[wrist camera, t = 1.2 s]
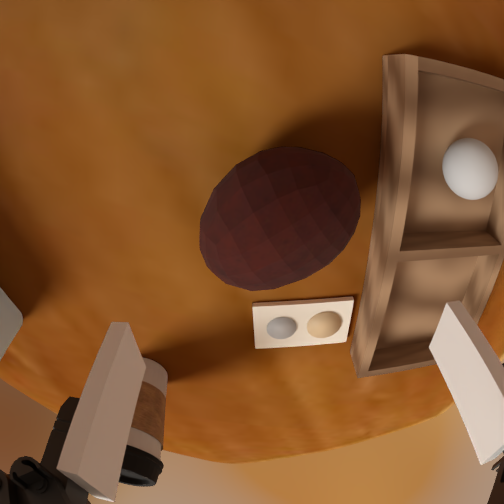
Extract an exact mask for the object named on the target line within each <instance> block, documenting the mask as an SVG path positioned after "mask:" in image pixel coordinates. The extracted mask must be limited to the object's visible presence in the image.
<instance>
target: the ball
mask: <svg viewBox="0 0 504 504" xmlns="http://www.w3.org/2000/svg"><path fill="white" fill-rule="evenodd" d="M442 170H443V175H444V178H445V181H446V183H447V184H448V186H449V187H450V189H451V190H452V191H453V192H454V193H455V194H457V195H458V196H460V197H462V198H465V199H469V200H477V199H481V198H483V197H485V196H487V195H488V194H489V193H490V192H491V191H492V190H493V189H494V187H495V185H496V183H497V179H498V164H497V161H496V158H495V156H494V154H493V152H492V151H491V150H490V148H489V147H488V146H487V145H486V144H484V143H483V142H481V141H479V140H477V139H473V138H462V139H459V140H457V141H455V142H453V143H452V144H451V145H450V146H449V147H448V149H447V150H446V152H445V154H444V157H443V163H442Z"/></svg>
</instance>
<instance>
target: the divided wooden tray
mask: <svg viewBox="0 0 504 504" xmlns="http://www.w3.org/2000/svg"><path fill="white" fill-rule="evenodd" d="M462 138H473V139H477V140H479V141H481V142H483V143H484V144H486V145H487V146H488V147H489V148H490V150H491V151H492V152H493V154H494V156H495V158H496V161H497V164H498V179H497V183H496V185H495V187H494V189H493V190H492V191H491V192H490V193H489V194H488V195H487V196H485V197H483V198H481V199H477V200H469V199H465V198H462V197H460V196H458V195H457V194H455V193H454V192H453V191H452V190H451V189H450V187H449V186H448V184H447V183H446V181H445V178H444V175H443V170H442V163H443V157H444V154H445V152H446V150H447V149H448V147H449V146H450V145H451V144H452V143H453V142H455V141H457V140H459V139H462ZM503 259H504V79H501V78H498V77H495V76H492V75H489V74H486V73H483V72H479V71H476V70H473V69H469V68H466V67H462V66H458V65H454V64H450V63H446V62H442V61H438V60H433V59H429V58H424V57H419V56H414V55H409V54H396V55H383V101H382V130H381V147H380V162H379V174H378V185H377V195H376V204H375V213H374V221H373V229H372V236H371V243H370V250H369V257H368V263H367V269H366V275H365V281H364V286H363V292H362V297H361V302H360V308H359V313H358V317H357V322H356V327H355V332H354V336H353V341H352V345H351V349H350V354H351V357H352V360H353V364H354V367H355V371H356V374H357V378H361V377H368V376H375V375H381V374H387V373H393V372H399V371H404V370H410V369H415V368H420V367H425V366H429V365H434V364H437V363H436V361H435V359H434V357H433V355H432V353H431V351H430V349H429V346H430V343H431V341H432V339H433V336H434V334H435V331H436V329H437V326H438V324H439V321H440V319H441V316H442V313H443V311H444V308H445V305H446V303H447V302H454V301H461V303H462V304H463V306H464V307H465V308H466V310H467V311H468V313H469V314H470V316H471V317H472V319H473V320H474V321H475V323H476V324H478V321H479V319H480V317H481V315H482V313H483V310H484V308H485V306H486V303H487V301H488V299H489V296H490V294H491V291H492V289H493V286H494V284H495V281H496V278H497V276H498V273H499V270H500V268H501V265H502V262H503Z"/></svg>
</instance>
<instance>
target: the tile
mask: <svg viewBox="0 0 504 504" xmlns="http://www.w3.org/2000/svg"><path fill="white" fill-rule="evenodd" d="M353 303H354V299H353V296H352V297H339V298H326V299H312V300H296V301H279V302H260V303H252V306H253V322H254V337H255V349H259V348H278V347H294V346H307V345H319V344H330V343H340V342H346V339H347V335H348V330H349V325H350V319H351V314H352V309H353Z"/></svg>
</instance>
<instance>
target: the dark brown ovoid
mask: <svg viewBox="0 0 504 504" xmlns="http://www.w3.org/2000/svg"><path fill="white" fill-rule="evenodd" d="M360 201H361V199H360V195H359V190H358V187H357V183H356V180H355V176H354V174H353V173H352V172H351V171H350V170H349V169H348V168H347V167H346V166H345V165H344V164H343V163H341V162H340V161H338V160H336V159H334V158H332V157H330V156H328V155H326V154H324V153H321V152H317V151H313V150H309V149H304V148H300V147H278V148H273V149H268V150H264V151H260V152H258V153H256V154H255V155H253V156H251V157H249V158H247V159H245V160H244V161H242V162H240V163H238V164H236V165H235V167H234V168H233V169H232V170H231V171H230V172H229V173H228V174H227V175H226V176H225V177H224V178H223V179H222V180H221V182H220V183H219V184H218V185H217V186H216V187H215V188H214V190H213V192H212V194H211V196H210V198H209V201H208V203H207V205H206V207H205V210H204V212H203V214H202V216H201V221H200V251H201V253H202V255H203V258H204V260H205V263H206V265H207V267H208V268H209V269H210V270H211V271H212V272H213V273H214V274H215V275H216V276H217V277H219V278H220V279H221V280H222V281H223V282H225V283H226V284H229V285H232V286H236V287H239V288H243V289H247V290H249V291H257V290H269V289H276V288H278V287H281V286H284V285H287V284H290V283H293V282H296V281H299V280H302V279H304V278H307V277H308V276H310V275H312V274H313V273H315V272H317V271H318V270H320V269H322V268H323V267H325V266H327V265H328V264H330V263H331V262H332V261H333V260H334V259H335V258H336V257H337V256H338V255H339V254H340V253H341V252H342V251H343V250H344V248H345V247H346V245H347V244H348V242H349V240H350V239H351V237H352V235H353V234H354V232H355V229H356V226H357V223H358V220H359V217H360Z"/></svg>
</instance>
